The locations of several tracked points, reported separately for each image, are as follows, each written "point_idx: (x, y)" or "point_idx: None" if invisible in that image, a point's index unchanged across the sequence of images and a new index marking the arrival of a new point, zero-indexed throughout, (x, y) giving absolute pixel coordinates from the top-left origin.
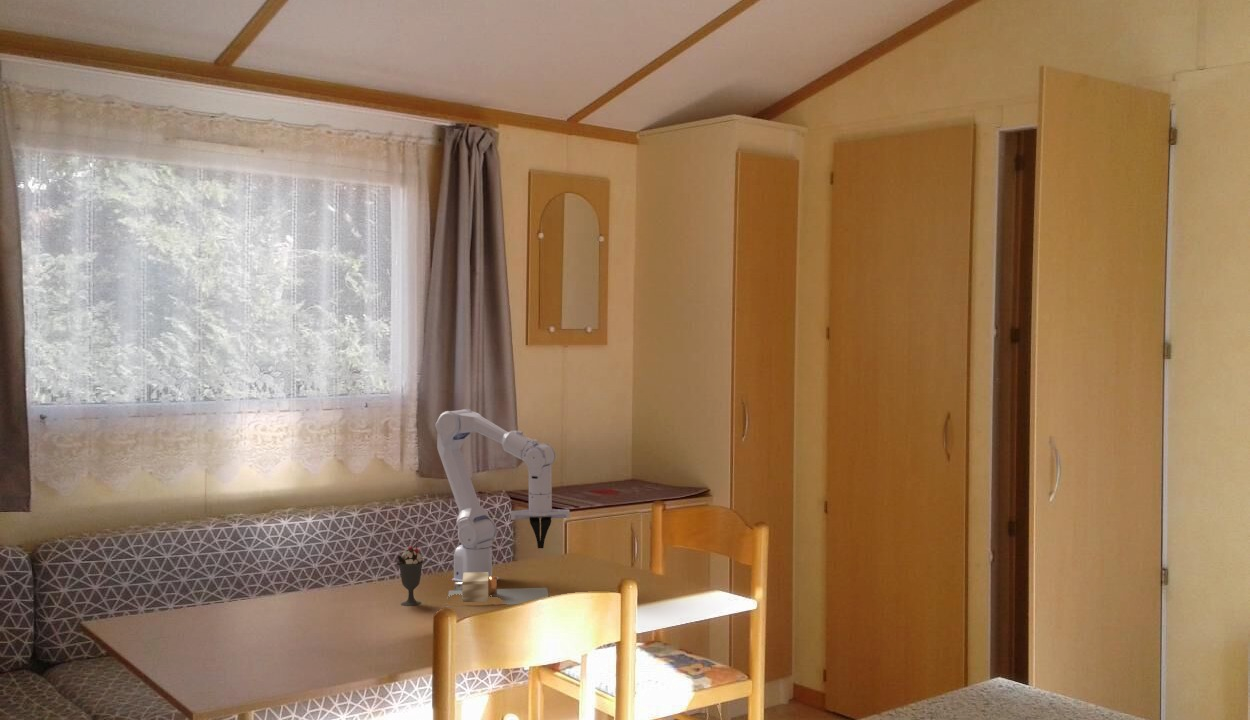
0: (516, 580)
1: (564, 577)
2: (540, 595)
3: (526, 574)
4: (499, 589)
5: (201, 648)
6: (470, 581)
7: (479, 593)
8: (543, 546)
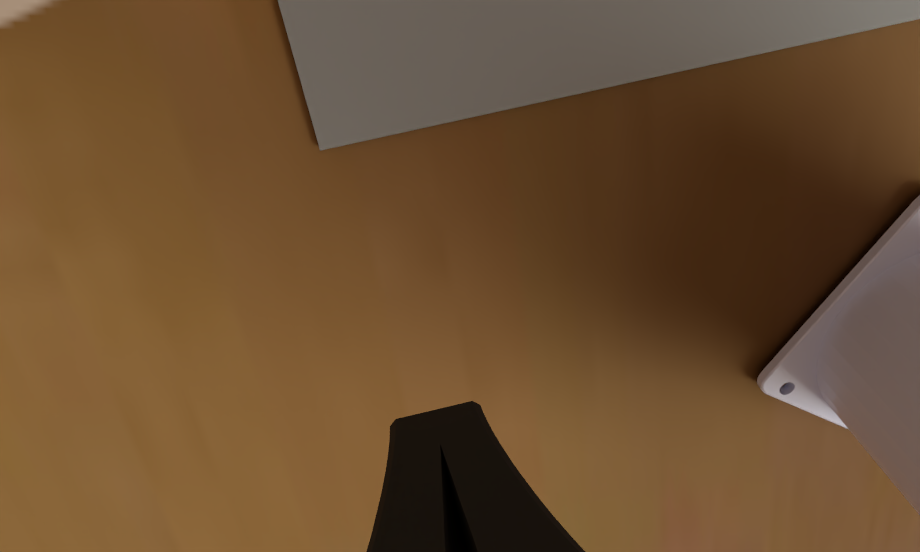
0: (623, 379)
1: (261, 508)
2: None
3: None
4: (771, 32)
5: None
6: None
7: None
8: (390, 439)
